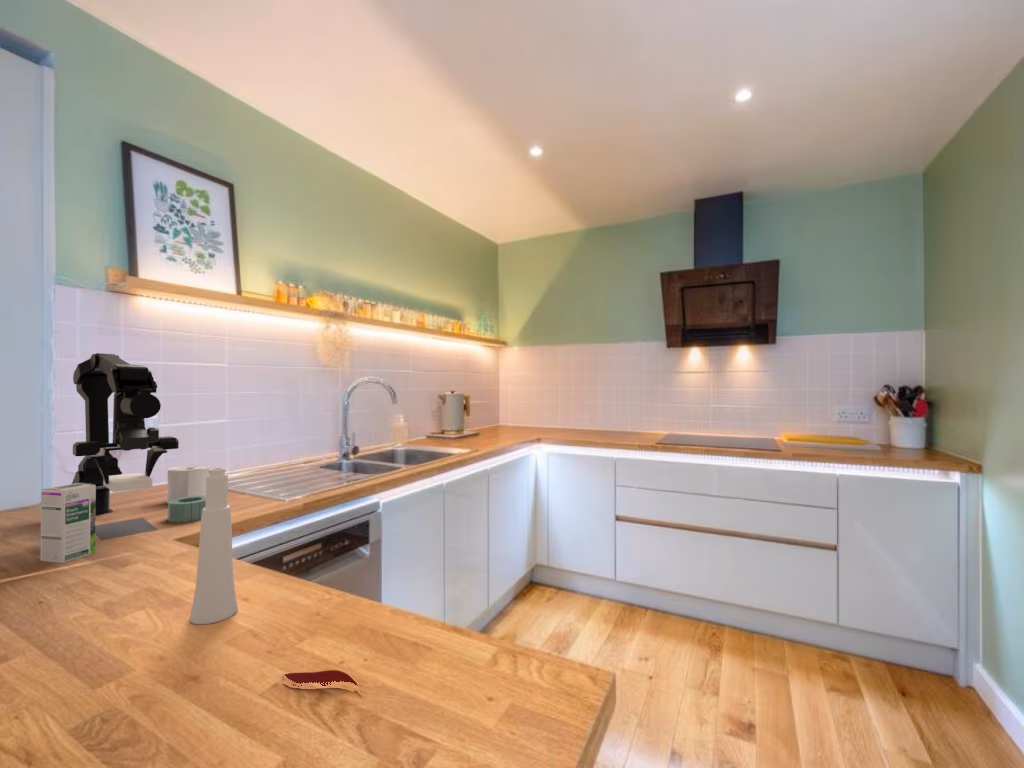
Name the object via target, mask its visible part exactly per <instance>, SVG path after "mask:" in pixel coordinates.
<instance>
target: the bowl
mask: <svg viewBox="0 0 1024 768" xmlns="http://www.w3.org/2000/svg"><path fill="white" fill-rule="evenodd" d="M205 507H206V496H188V497H181V498H177V499H173V500H170V501H169V502H168V503H167V521H168V522H170V523H188V522H189V523H190V522H194V521H201V517H202V509H203V508H205Z"/></svg>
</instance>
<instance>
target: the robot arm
mask: <svg viewBox="0 0 1024 768" xmlns="http://www.w3.org/2000/svg"><path fill="white" fill-rule="evenodd" d="M72 376H73V377H72V380H73V385H75V387H76V392H77V393H78V394H79V395H80V396H81V398H82V399H83V400H84V407H85V409H84V411H85V414H84V415H85V417H84V418H85V441H77V442H74V443H73V444H72V455H73V456H75V457H83V459H81V460H80V462H79V463H78V465H77V471H76V472H75V474H74V477H73V479H72V482H71V484H74V483H89V484H95V485H96V503H95V516H98V515H103V514H110V513H113V512H114V511H113V509H112V508H110V507H111V506H110V503H111V502H110V500H111V499H110V496H111V490H110V489H108V488H107V487H106V486H104V485H103V479H104V481H105V483H106V484H109V476H112V475H122V474H123V472H122V471H121V468H120V467H119V460H118V459H117V457H114V455H113V454H111V452H112V451H126V452H127V451H128V452H129V451H131V450H147V451H146V462H145V471H144V475H146V476H148V477H150V478H151V474H152V472H153V470H154V467H155V465H156V463H157V462H158V460H159V458H161V456H162V455H163V454H167V453H168V450H177V449H179V443H180V442H179V439H178V438H177V437H174V436H172V435H171V436H170V435H169V436H160V430H159V428H158V427H148V428H146V424H145V419H150V418H152V417H154V416H156V415H157V414H158V413H159V412H160V410H161V407H162V405H161V402H160V400H159V398H158V397H157V396H156V395H153V394H156V393H157V388H158V383H157V382H156V380H155V377H154V375H153V373H152V371H151V370H150V369H149V367H148V366H147V365H141V364H130V363H128V362H127V361H125V360H123V359H121V358H120V356H119V355H117V354H115V353H100V352H96V353H92V354H91V356H90V358H88V359H86V360H84V361H82V362H80V363H78V364H77V366H76V368H75V369H74V372H73V375H72ZM112 394H113V409H112V410H113V415H112V416H113V417H112V442H110V435H109V433H110V432H109V430H110V429H109V399H110V397H111V395H112ZM110 451H111V452H110Z"/></svg>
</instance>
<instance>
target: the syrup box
mask: <svg viewBox="0 0 1024 768" xmlns="http://www.w3.org/2000/svg"><path fill="white" fill-rule="evenodd" d="M95 503H96V485H95V484H89V483H74V484H72V483H71V484H65V485H61V486H60V485H59V486H55V487H47V488H43V489H41V491H40V557H39V558H40V561H41V562H50V563H60V564H63V563H66V562H69V561H73V560H77V559H79V558H82V557H86V556H90V555H92V554H95V553H96V533H95V525H96V515H95Z"/></svg>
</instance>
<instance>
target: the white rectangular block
mask: <svg viewBox="0 0 1024 768" xmlns="http://www.w3.org/2000/svg"><path fill="white" fill-rule="evenodd" d="M103 485H104V486H106V487H107V488H108V489H110V492H112V493H118V492H125V491H133V490H139V489H140V490H141V489H148V488H153V477H152V478H151V476H150V477H148V476H146V475H145V473H142V472H134V473H133V472H132V473H124V474H123V473H122V475H112V476H109V484H106V483H105V481H104V479H103Z"/></svg>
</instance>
